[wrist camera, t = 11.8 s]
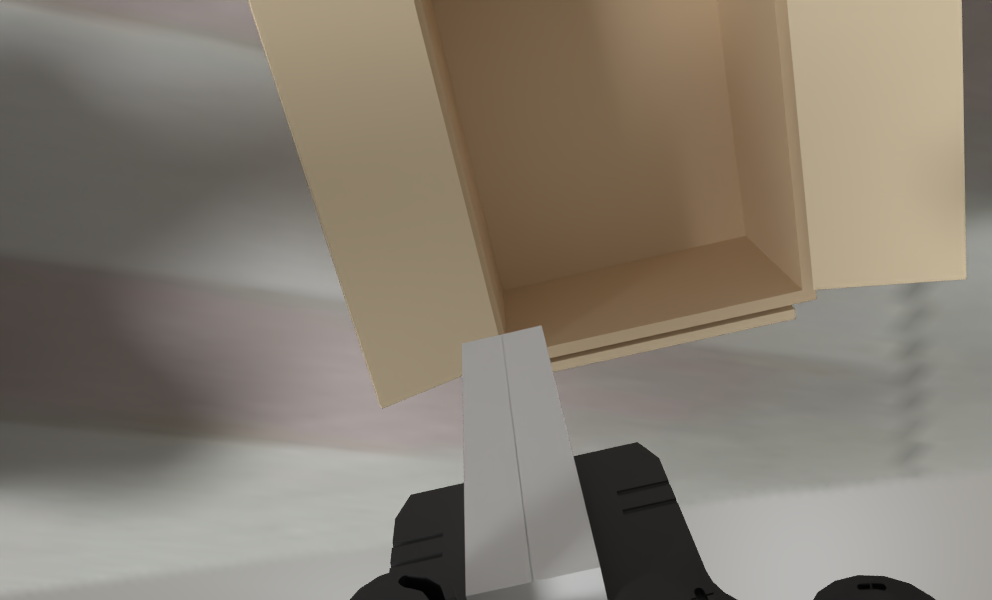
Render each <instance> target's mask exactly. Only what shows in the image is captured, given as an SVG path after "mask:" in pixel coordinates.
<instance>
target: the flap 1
mask: <svg viewBox="0 0 992 600" xmlns="http://www.w3.org/2000/svg"><path fill="white" fill-rule="evenodd" d="M248 2H249V5H250V8H251V11H252V15H253V18H254V21H255V24H256V27H257V30H258V33H259V36H260V39H261V42H262V45H263V48H264V51H265V55H266V58H267V61H268V64H269V67H270V70H271V73H272V76H273V79H274V82H275V85H276V88H277V91H278V94H279V98H280V101H281V104H282V107H283V110H284V113H285V116H286V119H287V122H288V125H289V128H290V131H291V134H292V138H293V141H294V144H295V147H296V150H297V153H298V156H299V159H300V162H301V165H302V168H303V171H304V174H305V177H306V181H307V184H308V187H309V190H310V193H311V196H312V199H313V202H314V205H315V208H316V211H317V214H318V217H319V221H320V224H321V227H322V230H323V233H324V236H325V239H326V242H327V245H328V248H329V251H330V254H331V257H332V260H333V264H334V267H335V270H336V273H337V276H338V279H339V282H340V285H341V288H342V291H343V294H344V297H345V300H346V304H347V307H348V310H349V313H350V316H351V319H352V322H353V325H354V328H355V331H356V334H357V337H358V340H359V343H360V347H361V350H362V353H363V356H364V359H365V362H366V365H367V368H368V371H369V374H370V377H371V380H372V383H373V387H374V390H375V393H376V396H377V399H378V402H379V405H380V406H381V407H382V409H383V408H385V407H388V406H390V405H392V404H395V403H397V402H400V401H402V400H405V399H407V398H409V397H412V396H414V395H417V394H419V393H422V392H424V391H427V390H429V389H431V388H434V387H436V386H439V385H441V384H444V383H446V382H448V381H451V380H453V379H456V378H458V377H461V376H462V343H467V342H471V341H475V340H480V339H484V338H488V337H493V336H497V335H498V331H497V327H496V323H495V319H494V315H493V311H492V307H491V303H490V299H489V296H488V292H487V288H486V284H485V280H484V276H483V272H482V268H481V264H480V260H479V256H478V252H477V248H476V244H475V240H474V236H473V232H472V229H471V225H470V221H469V217H468V213H467V209H466V205H465V201H464V197H463V193H462V189H461V185H460V181H459V177H458V173H457V169H456V165H455V162H454V158H453V154H452V150H451V146H450V142H449V138H448V134H447V130H446V126H445V122H444V118H443V114H442V110H441V106H440V102H439V98H438V95H437V91H436V87H435V83H434V79H433V75H432V71H431V67H430V63H429V59H428V55H427V51H426V47H425V43H424V39H423V35H422V31H421V27H420V24H419V20H418V16H417V12H416V8H415V4H414V0H250V1H248Z"/></svg>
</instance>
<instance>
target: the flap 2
mask: <svg viewBox="0 0 992 600" xmlns="http://www.w3.org/2000/svg"><path fill="white" fill-rule="evenodd" d="M787 7H788V18H789V29H790V40H791V51H792V62H793V72H794V83H795V94H796V105H797V116H798V127H799V137H800V148H801V159H802V170H803V181H804V191H805V202H806V213H807V224H808V235H809V246H810V256H811V267H812V278H813V289H814V290H820V289H834V288H848V287H862V286H876V285H890V284H904V283H918V282H932V281H946V280H960V279H966V224H965V165H964V105H963V46H962V0H787Z"/></svg>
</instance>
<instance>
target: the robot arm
mask: <svg viewBox="0 0 992 600" xmlns="http://www.w3.org/2000/svg"><path fill="white" fill-rule="evenodd" d="M462 388H463V452H464V483H462V484H458V485H453V486H448V487H444V488H439V489H435V490H430V491H426V492H421V493H417V494H412V495H410V497H409V498H408V500H407V502H406V503H405V505H404V506H403V508H402V509H401V511H400V512H399V514H398V515H397V517H396V519H395V526H394V535H393V548H392V553H391V562H390V563H391V568H390V572H389V573H387V574H384V575H382V576H379V577H377V578H376V579H374V580H373V581H371V582H369V583H368V584H366V585H365V586H364V587H362V588H360V589H359V590H358V591H357V592H356V593H355V595H354V596H353V597H352V598H351V599H350V600H736V599H735V598H733V597H731V596H729V595H728V594H726V593H724V592H723V591H722V590H721V589H720V588H719V587H718V586H717V585H716V584H714V583H713V581H712V580H711V578H710V576H709V575H708V573H707V572H706V570H705V568H704V565H703V562H702V560H701V558H700V555H699V553H698V550H697V548H696V546H695V543H694V541H693V539H692V536H691V534H690V531H689V529H688V526H687V524H686V522H685V519H684V517H683V514H682V512H681V510H680V507H679V505H678V503H677V501H676V498H675V495H674V493H673V491H672V488H671V486H670V485H669V482H668V479H667V476H666V474H665V471H664V469H663V467H662V464H661V462H660V459H659V458H658V457H657V456H655V455H654V454H653V453H651V452H650V451H649V450H647V449H646V448H645V447H643V446H642V445H641V444H639V443H638V442H636V443H632V444H627V445H623V446H618V447H614V448H609V449H605V450H600V451H596V452H591V453H587V454H582V455H578V456H573V453H572V449H571V445H570V440H569V436H568V432H567V428H566V424H565V420H564V416H563V412H562V407H561V403H560V399H559V395H558V391H557V387H556V383H555V379H554V374H553V370H552V366H551V362H550V358H549V354H548V350H547V346H546V341H545V337H544V333H543V329H542V325H541V326H537V327H532V328H528V329H523V330H519V331H515V332H510V333H506V334H502V335H497V336H493V337H488V338H484V339H480V340H475V341H471V342H467V343H462ZM814 600H935V599H934V598H933V597H931V596H930V595H928V594H926V593H924V592H923V591H921V590H919V589H918V588H916V587H915V586H913V585H912V584H909V583H906V582H902V581H899V580H895V579H892V578H888V577H885V576H863V575H857V576H853V577H849V578H845V579H841V580H837V581H834V582H833V583H831V584H830V585H828V586H827V587H825V588H824V589H822V590H821V591H819V592H818V593H817V595H816V596H815V598H814Z"/></svg>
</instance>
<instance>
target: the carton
mask: <svg viewBox="0 0 992 600" xmlns="http://www.w3.org/2000/svg"><path fill="white" fill-rule="evenodd" d="M414 4H415V8H416V12H417V16H418V20H419V24H420V27H421V31H422V35H423V39H424V43H425V47H426V51H427V55H428V59H429V63H430V67H431V71H432V75H433V79H434V83H435V87H436V91H437V95H438V98H439V102H440V106H441V110H442V114H443V118H444V122H445V126H446V130H447V134H448V138H449V142H450V146H451V150H452V154H453V158H454V162H455V165H456V169H457V173H458V177H459V181H460V185H461V189H462V193H463V197H464V201H465V205H466V209H467V213H468V217H469V221H470V225H471V229H472V232H473V236H474V240H475V244H476V248H477V252H478V256H479V260H480V264H481V268H482V272H483V276H484V280H485V284H486V288H487V292H488V296H489V299H490V303H491V307H492V311H493V315H494V319H495V323H496V327H497V331H498V335H502V334H506V333H510V332H515V331H519V330H523V329H528V328H532V327H537V326H541V325H542V329H543V333H544V337H545V341H546V346H547V350H548V354H549V358H550V362H551V366H552V370H553V372H556V371H560V370H565V369H569V368H574V367H578V366H583V365H588V364H592V363H597V362H601V361H606V360H610V359H615V358H619V357H624V356H628V355H633V354H638V353H642V352H647V351H651V350H656V349H660V348H665V347H669V346H674V345H678V344H683V343H687V342H692V341H697V340H701V339H706V338H710V337H715V336H719V335H724V334H728V333H733V332H737V331H742V330H747V329H751V328H756V327H760V326H765V325H769V324H774V323H778V322H783V321H787V320H792V319H796V315H795V309H794V308H793V307H792V305H793V304H797V303H802V302H806V301H811V300H815V299H817V297H816V290H814V289H813V278H812V267H811V256H810V246H809V235H808V224H807V213H806V202H805V191H804V181H803V170H802V159H801V148H800V137H799V127H798V116H797V105H796V94H795V83H794V72H793V62H792V51H791V40H790V29H789V18H788V7H787V0H414Z"/></svg>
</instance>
